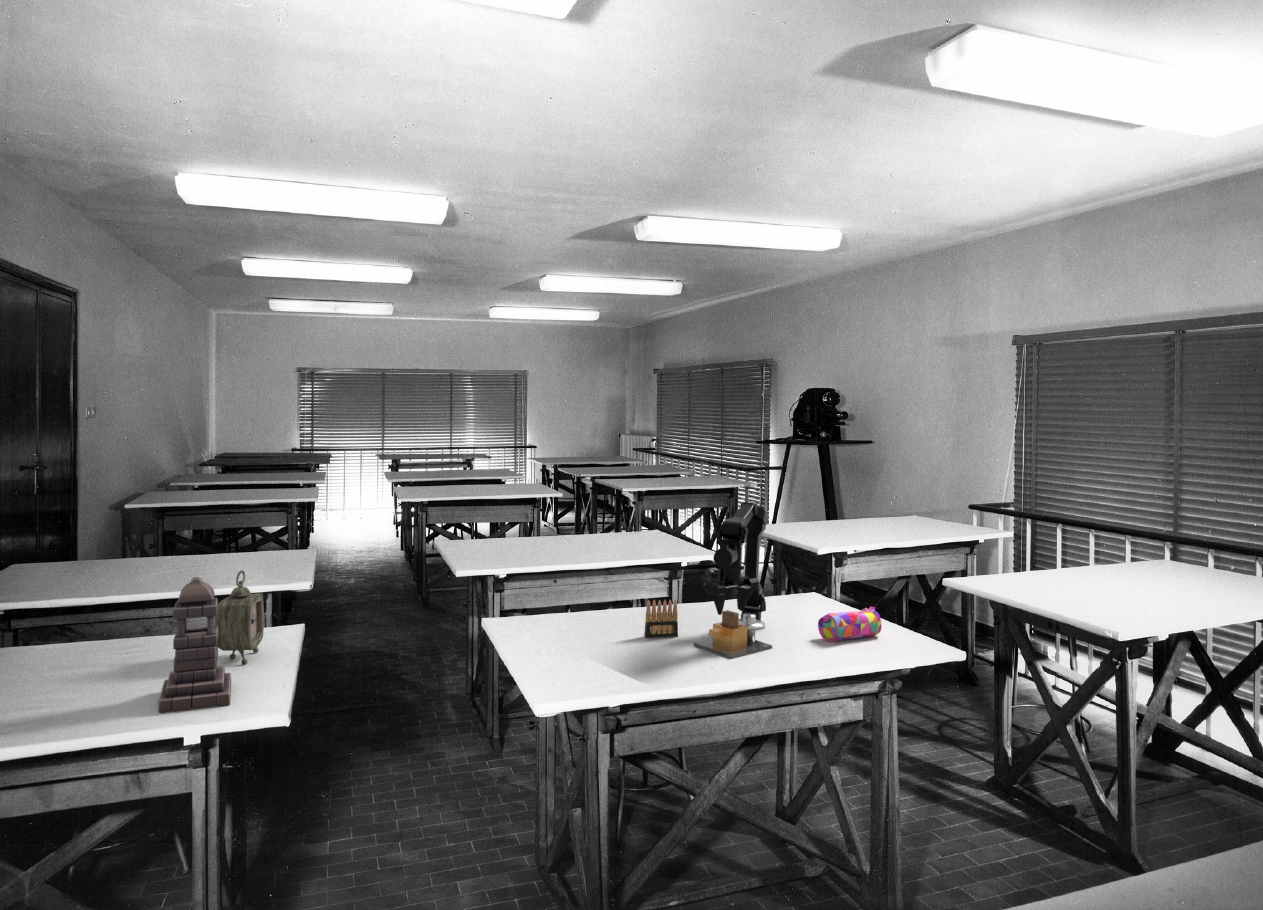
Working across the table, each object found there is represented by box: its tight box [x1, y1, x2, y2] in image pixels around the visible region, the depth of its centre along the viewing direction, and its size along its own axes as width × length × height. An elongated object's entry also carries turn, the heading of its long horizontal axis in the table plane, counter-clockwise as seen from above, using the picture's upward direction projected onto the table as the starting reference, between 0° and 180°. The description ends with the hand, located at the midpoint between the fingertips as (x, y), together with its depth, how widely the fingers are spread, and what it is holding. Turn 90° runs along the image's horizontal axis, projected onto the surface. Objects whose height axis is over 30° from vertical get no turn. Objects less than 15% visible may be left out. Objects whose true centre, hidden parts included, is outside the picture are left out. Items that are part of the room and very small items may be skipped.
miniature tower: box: [158, 576, 232, 714], centre depth 199 cm, size 16×15×30 cm
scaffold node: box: [693, 613, 773, 660], centre depth 254 cm, size 21×16×9 cm
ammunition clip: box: [643, 598, 679, 639], centre depth 262 cm, size 11×2×12 cm, turn 102°
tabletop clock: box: [214, 570, 265, 666], centre depth 230 cm, size 14×9×25 cm, turn 9°
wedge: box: [721, 609, 740, 629], centre depth 252 cm, size 2×4×10 cm, turn 40°
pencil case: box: [817, 606, 882, 643], centre depth 267 cm, size 22×9×9 cm, turn 122°
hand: (730, 612), depth 252 cm, fingers open, 9 cm apart
